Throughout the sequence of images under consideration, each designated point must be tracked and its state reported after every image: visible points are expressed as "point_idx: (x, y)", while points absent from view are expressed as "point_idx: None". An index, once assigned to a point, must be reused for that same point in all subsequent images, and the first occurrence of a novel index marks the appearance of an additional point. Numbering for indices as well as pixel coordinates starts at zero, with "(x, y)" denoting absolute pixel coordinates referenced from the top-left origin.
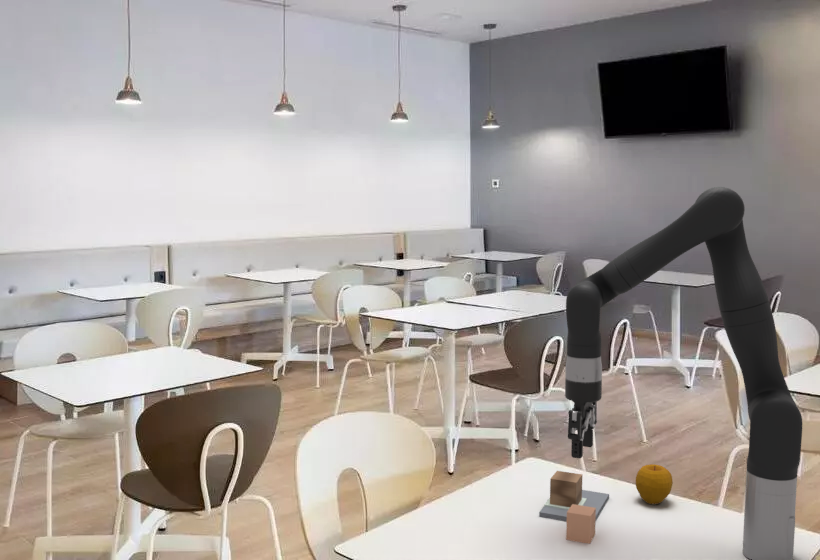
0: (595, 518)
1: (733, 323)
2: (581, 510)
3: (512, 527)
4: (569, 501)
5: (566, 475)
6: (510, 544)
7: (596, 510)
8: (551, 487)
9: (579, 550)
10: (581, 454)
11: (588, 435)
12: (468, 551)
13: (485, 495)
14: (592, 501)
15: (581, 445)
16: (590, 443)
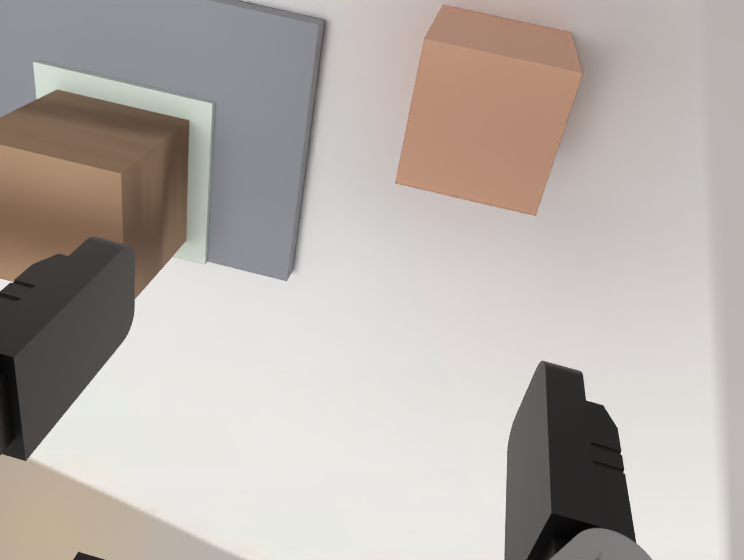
0: (433, 23)
1: None
2: (491, 131)
3: (442, 367)
4: (175, 163)
5: (30, 227)
6: (622, 374)
7: (158, 4)
8: (147, 277)
9: (664, 87)
10: (582, 395)
11: (62, 353)
12: (704, 501)
13: (157, 450)
14: (45, 28)
15: (592, 482)
16: (112, 275)
